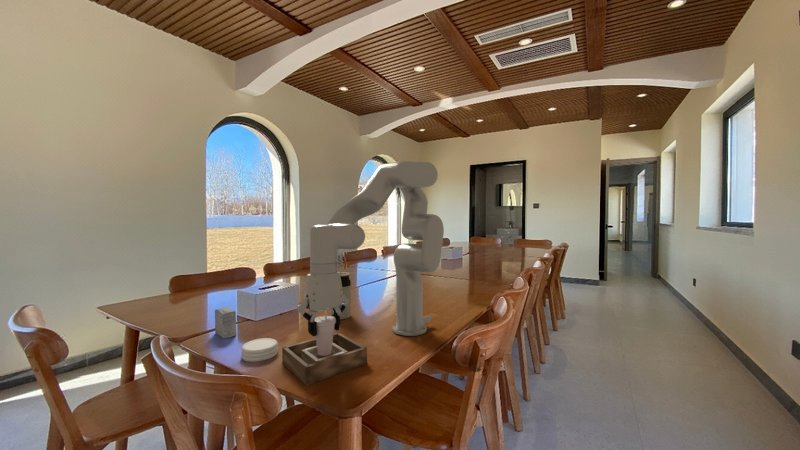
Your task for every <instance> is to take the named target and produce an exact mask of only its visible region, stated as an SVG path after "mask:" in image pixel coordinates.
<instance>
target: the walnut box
mask: <svg viewBox="0 0 800 450" xmlns="http://www.w3.org/2000/svg"><path fill="white" fill-rule="evenodd" d="M281 349H282V351H281V353H282V355H281V356H282V364H283V365H284V367H286V368H287V369H288V370H289V371H291V372H292V374H294V376H296V377H297V378H298V379H299V380H300V381H301V382H302V383H303V384H304V385H305V386H309V385H312V384H315V383H317V382H319V381H323V380H326V379H328V378H332V377H335V376H337V375H340V374H342V373H345V372H349V371H351V370H354V369H357V368H359V367H362V366H365V365H367V364H368V347H366V346H364V345H363V344H361V343H360V342H357V341H355V340H353V339H351V338H350V337H348V336H346V335H345V334H342V333H340V332H339V331H338V332H334V334H333V342H332V350H331V354H329V355H326V356H321V355H318V351H317V343H316V338H312V339H308V340H305V341H301V342H297V343H294V344H290V345H286V346H282V347H281Z"/></svg>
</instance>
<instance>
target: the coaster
mask: <svg viewBox="0 0 800 450" xmlns="http://www.w3.org/2000/svg"><path fill="white" fill-rule="evenodd" d="M278 345H279V343H278V341H277V340H276V339H274V338H270V337H269V338H268V337H262V338H256V339H255V338H254V339H252V340H250V341H249V340H248V341H247V342H245V343H244V344H243V345H242V346H241V359H242V360H244V361H245V362H251V363H254V362H255V363H256V362H263V361H267V360H269V359H271V358H274V357H276V355H278V352H279V350H278Z"/></svg>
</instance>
